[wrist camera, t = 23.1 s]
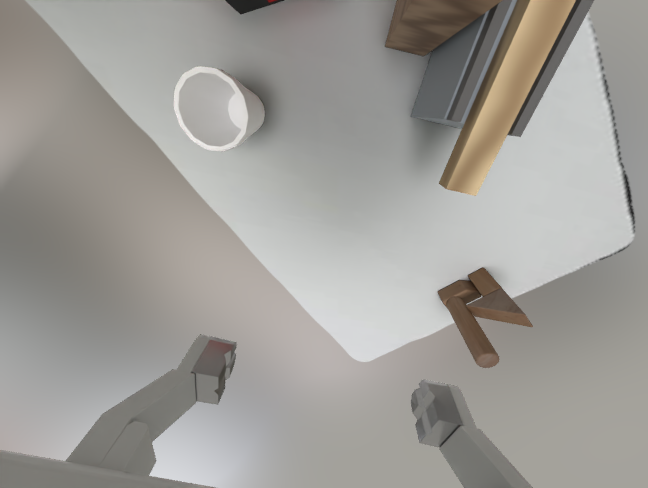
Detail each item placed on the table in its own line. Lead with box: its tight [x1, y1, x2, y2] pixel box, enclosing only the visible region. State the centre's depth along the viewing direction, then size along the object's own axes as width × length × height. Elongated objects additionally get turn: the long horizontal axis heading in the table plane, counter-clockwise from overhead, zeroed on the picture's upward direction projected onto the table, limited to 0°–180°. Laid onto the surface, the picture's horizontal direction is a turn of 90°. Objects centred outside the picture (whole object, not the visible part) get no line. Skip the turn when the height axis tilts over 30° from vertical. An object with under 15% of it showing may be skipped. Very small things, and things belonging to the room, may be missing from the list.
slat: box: [439, 0, 576, 196], centre depth 24 cm, size 4×22×2 cm, turn 168°
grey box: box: [411, 0, 594, 137], centre depth 29 cm, size 8×18×19 cm, turn 168°
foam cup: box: [174, 66, 265, 152], centre depth 37 cm, size 10×9×13 cm
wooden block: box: [438, 268, 533, 368], centre depth 48 cm, size 4×11×18 cm, turn 131°
